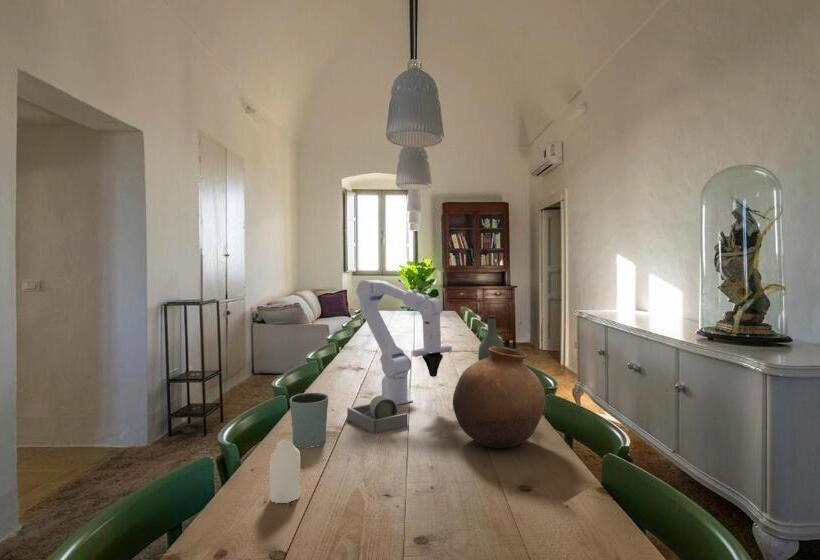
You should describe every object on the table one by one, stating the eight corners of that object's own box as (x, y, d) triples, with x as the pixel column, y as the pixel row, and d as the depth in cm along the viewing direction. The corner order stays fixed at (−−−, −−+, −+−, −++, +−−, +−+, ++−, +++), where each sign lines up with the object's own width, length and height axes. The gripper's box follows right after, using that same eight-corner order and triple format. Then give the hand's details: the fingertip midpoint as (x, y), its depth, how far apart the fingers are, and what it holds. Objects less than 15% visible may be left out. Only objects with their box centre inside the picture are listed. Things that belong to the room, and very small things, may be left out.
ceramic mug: (391, 415, 151) (390, 391, 150) (398, 423, 143) (398, 397, 143) (358, 419, 147) (357, 395, 147) (363, 428, 140) (362, 401, 139)
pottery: (440, 436, 131) (439, 345, 131) (511, 425, 140) (510, 339, 140) (485, 467, 110) (484, 358, 110) (565, 451, 119) (564, 351, 119)
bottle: (494, 411, 154) (493, 317, 153) (472, 405, 161) (471, 315, 160) (512, 405, 160) (511, 315, 160) (490, 400, 167) (489, 313, 166)
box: (347, 419, 147) (347, 407, 147) (380, 412, 154) (379, 401, 154) (373, 433, 134) (373, 421, 134) (407, 425, 141) (407, 413, 140)
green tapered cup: (315, 433, 135) (314, 390, 135) (336, 442, 128) (336, 397, 128) (283, 442, 128) (282, 397, 128) (303, 452, 121) (302, 404, 121)
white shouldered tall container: (297, 432, 100) (302, 440, 95) (298, 489, 101) (303, 500, 95) (267, 436, 98) (271, 445, 93) (268, 494, 98) (272, 507, 93)
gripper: (420, 338, 151) (421, 381, 151) (456, 333, 159) (458, 375, 159) (408, 336, 157) (409, 377, 157) (444, 332, 165) (445, 371, 165)
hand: (433, 376), depth 159 cm, fingers closed
